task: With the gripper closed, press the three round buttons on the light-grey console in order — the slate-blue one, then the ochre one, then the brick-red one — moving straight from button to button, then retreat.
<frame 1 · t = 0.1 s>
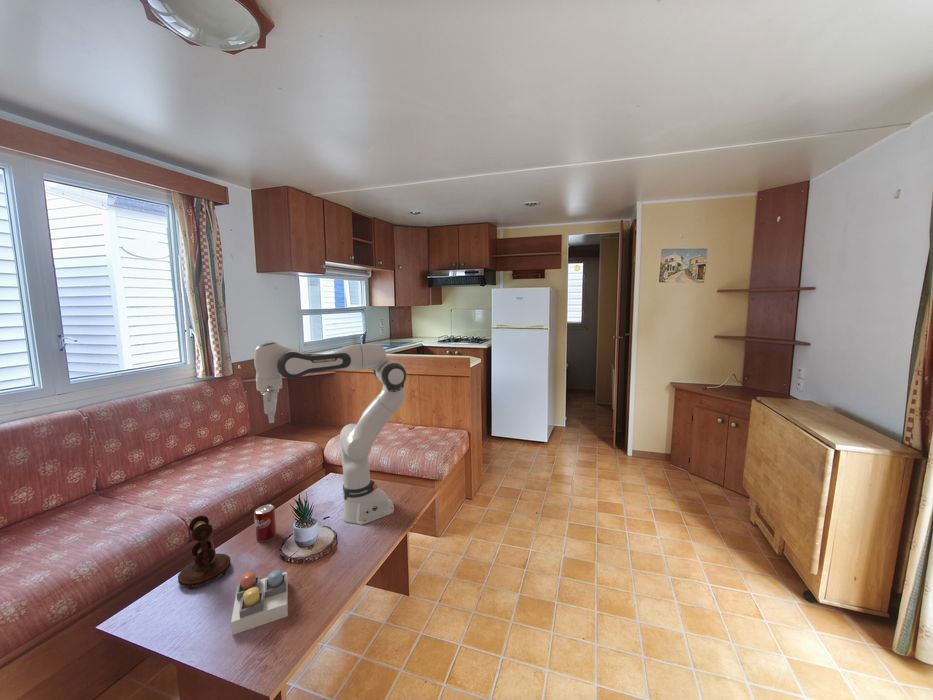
hand: (272, 419, 144), 48 cm above the table, fingers open, 8 cm apart
ochre button: (251, 597, 107), point 7 cm above the table, slide at 0.0 cm
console: (262, 606, 113), on the table
brown spool stand: (205, 575, 127), on the table
soda can: (266, 537, 147), on the table
slate button: (275, 578, 114), point 7 cm above the table, slide at 0.0 cm
brick button: (248, 580, 114), point 7 cm above the table, slide at 0.0 cm
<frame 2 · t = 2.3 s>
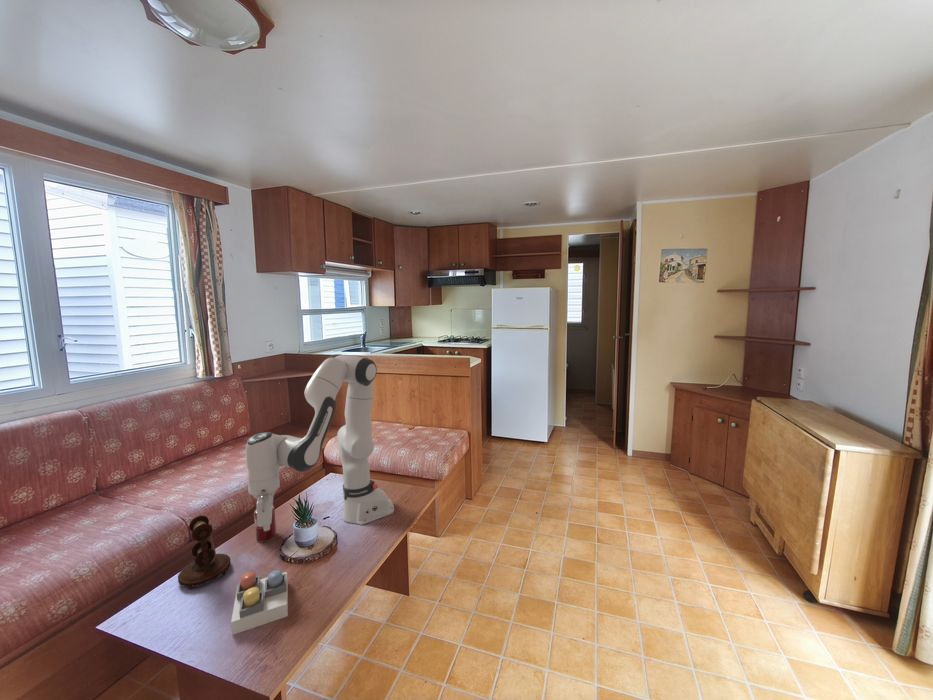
hand: (267, 524, 119), 21 cm above the table, fingers open, 5 cm apart
nothing on the table moved.
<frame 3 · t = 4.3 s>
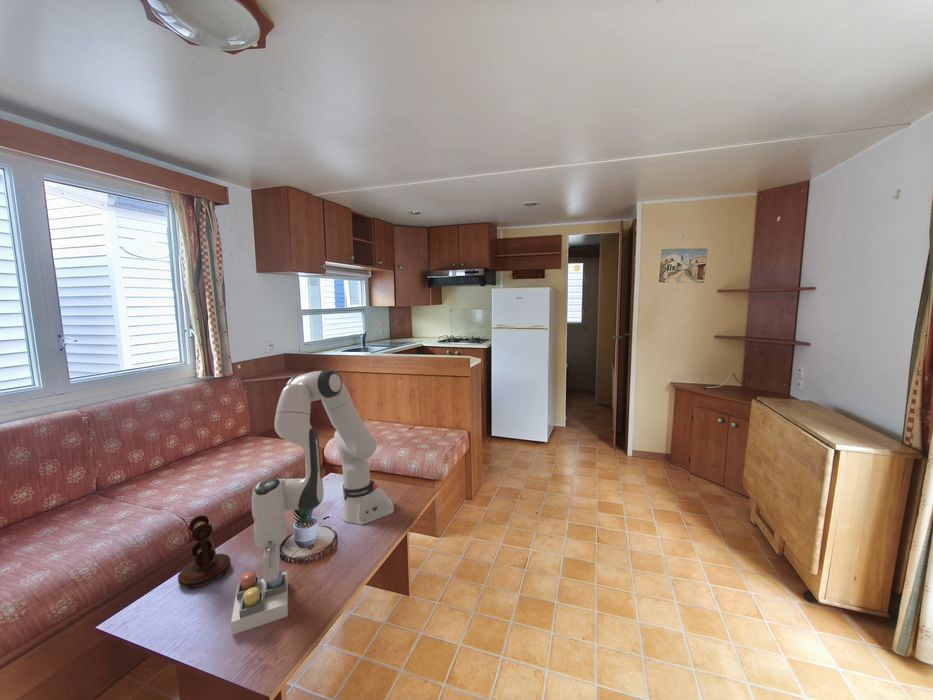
hand: (273, 575, 114), 8 cm above the table, fingers closed, pressing on slate button
slate button: (275, 579, 114), point 7 cm above the table, slide at -0.3 cm, touching gripper
everything else where it was.
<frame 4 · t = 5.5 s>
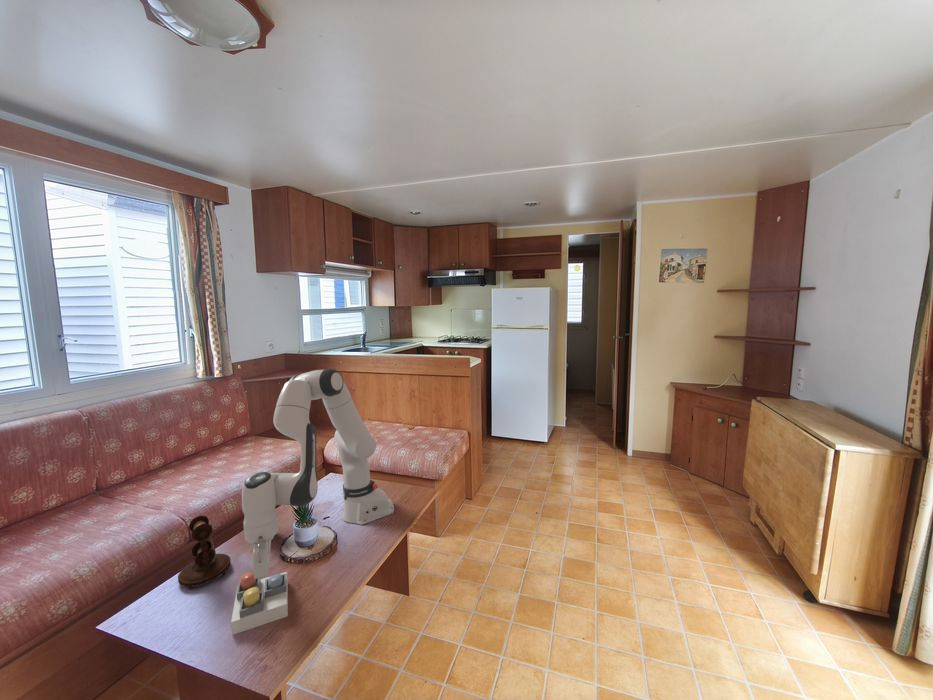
hand: (264, 571, 111), 12 cm above the table, fingers closed
slate button: (275, 583, 115), point 6 cm above the table, slide at -1.4 cm
everything else where it was.
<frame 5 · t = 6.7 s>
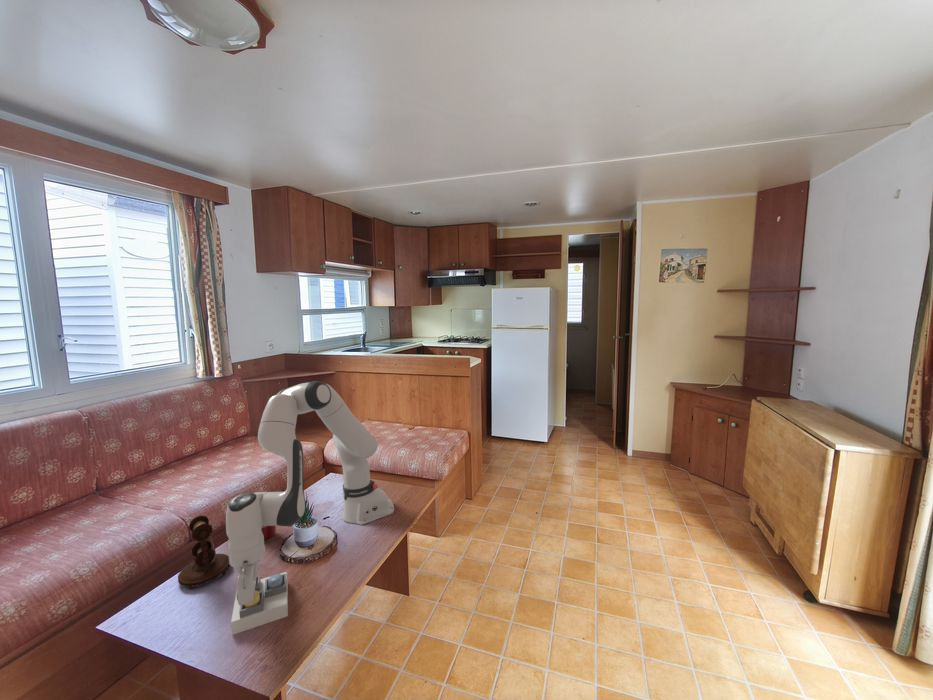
hand: (250, 595, 107), 8 cm above the table, fingers closed, pressing on ochre button
ochre button: (252, 600, 107), point 6 cm above the table, slide at -1.2 cm, touching gripper
everything else where it was.
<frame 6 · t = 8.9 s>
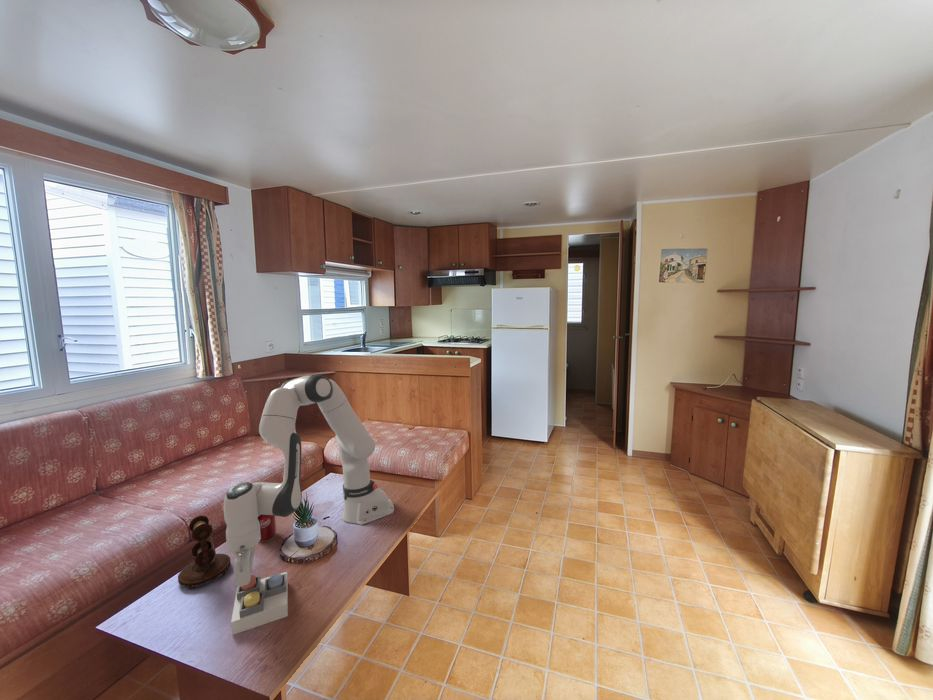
hand: (247, 579, 114), 8 cm above the table, fingers closed, pressing on brick button
ochre button: (252, 601, 107), point 6 cm above the table, slide at -1.4 cm
brick button: (248, 584, 114), point 6 cm above the table, slide at -1.2 cm, touching gripper
everything else where it was.
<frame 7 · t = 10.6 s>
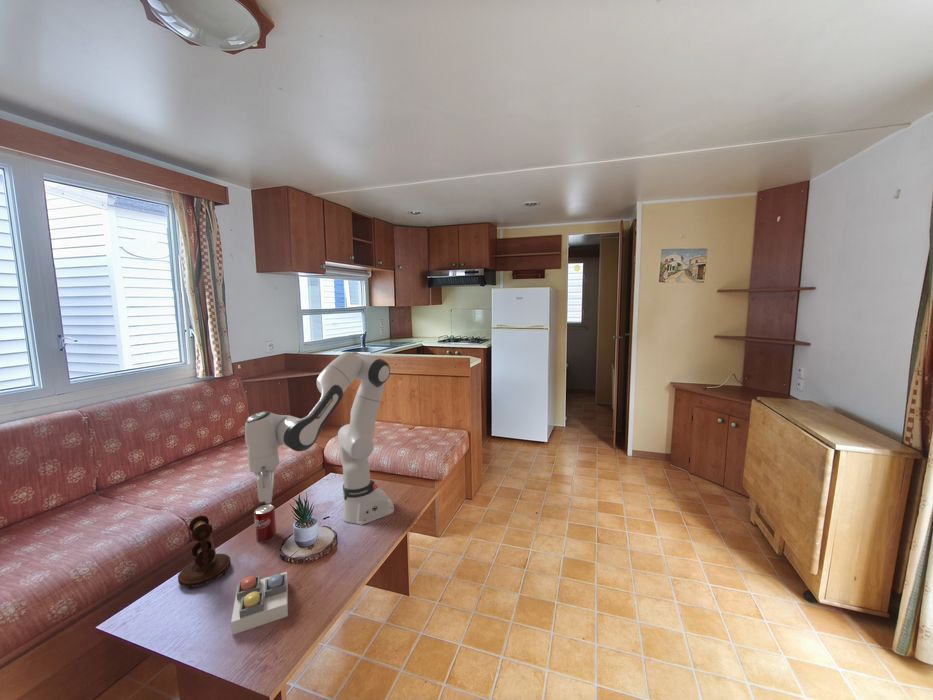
hand: (268, 501, 122), 27 cm above the table, fingers closed
brick button: (248, 584, 114), point 6 cm above the table, slide at -1.4 cm
everything else where it was.
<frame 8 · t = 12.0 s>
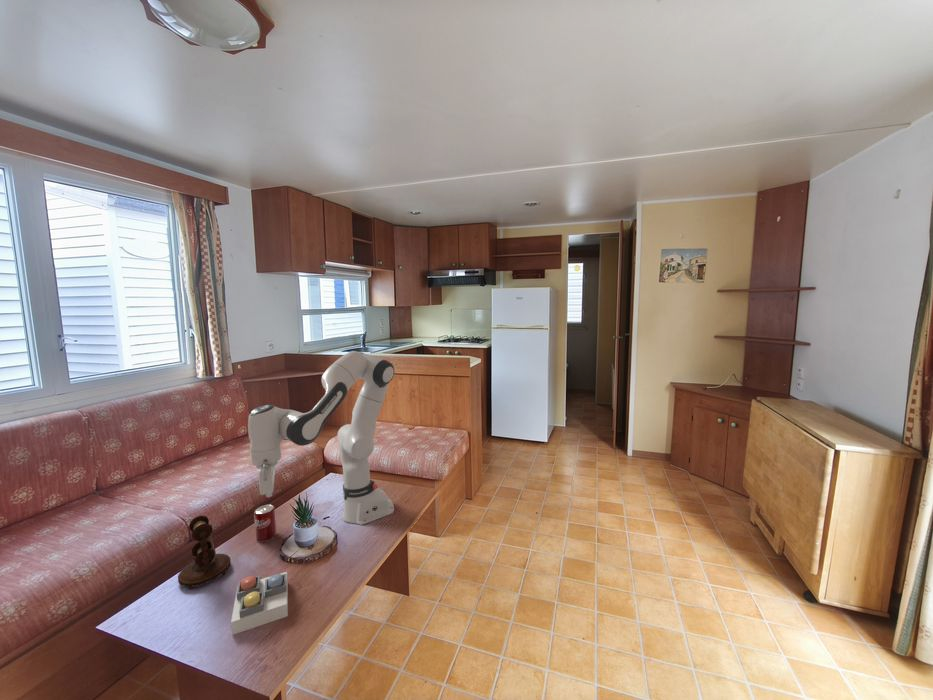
hand: (269, 495, 123), 29 cm above the table, fingers closed
nothing on the table moved.
at the end: slate button slide at -1.4 cm; ochre button slide at -1.4 cm; brick button slide at -1.4 cm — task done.
